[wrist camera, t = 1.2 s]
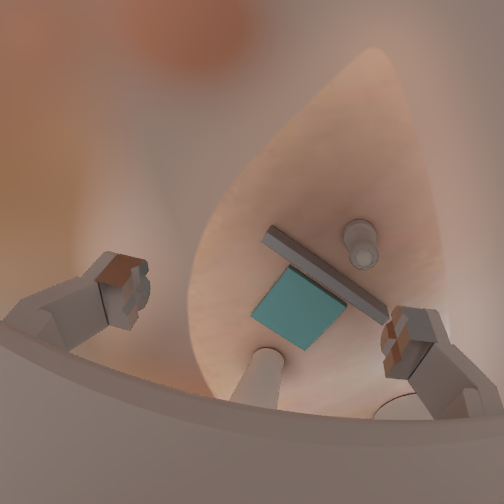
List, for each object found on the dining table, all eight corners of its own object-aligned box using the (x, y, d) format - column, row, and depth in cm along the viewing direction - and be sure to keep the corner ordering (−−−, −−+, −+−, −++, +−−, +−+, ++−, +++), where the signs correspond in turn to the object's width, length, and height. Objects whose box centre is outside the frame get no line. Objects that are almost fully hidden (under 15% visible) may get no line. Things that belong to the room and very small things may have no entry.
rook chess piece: (376, 218, 38) (386, 239, 31) (375, 251, 39) (383, 278, 32) (342, 218, 39) (344, 239, 32) (342, 251, 40) (343, 278, 33)
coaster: (346, 304, 43) (346, 307, 42) (305, 346, 48) (304, 350, 47) (289, 264, 43) (288, 267, 42) (252, 312, 47) (250, 316, 47)
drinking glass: (263, 377, 52) (239, 445, 39) (241, 350, 51) (210, 417, 37) (296, 366, 49) (280, 438, 36) (275, 337, 48) (251, 408, 35)
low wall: (386, 306, 42) (389, 318, 39) (379, 313, 42) (382, 325, 40) (271, 225, 42) (267, 232, 39) (265, 233, 42) (260, 241, 40)
